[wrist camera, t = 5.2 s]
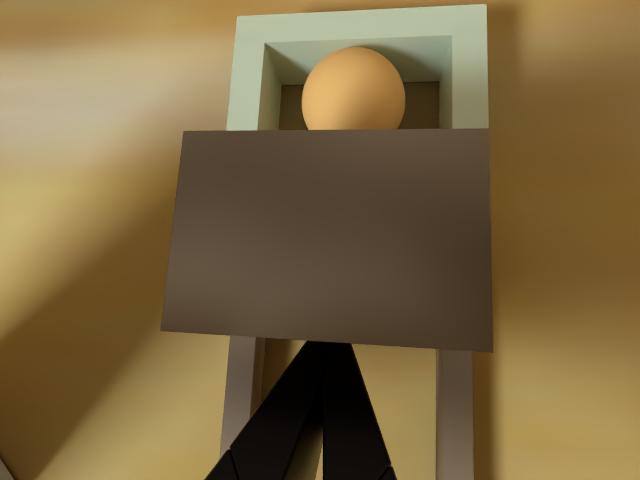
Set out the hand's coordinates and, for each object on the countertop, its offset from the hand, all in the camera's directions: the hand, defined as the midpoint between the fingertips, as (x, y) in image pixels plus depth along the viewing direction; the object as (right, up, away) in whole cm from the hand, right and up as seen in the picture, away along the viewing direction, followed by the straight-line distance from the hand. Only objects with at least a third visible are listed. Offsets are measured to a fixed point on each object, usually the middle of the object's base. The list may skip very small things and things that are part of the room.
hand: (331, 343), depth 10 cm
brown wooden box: (+1, +1, +7) cm, 7 cm away
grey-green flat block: (+1, +7, +8) cm, 10 cm away
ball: (+1, +8, +6) cm, 10 cm away
